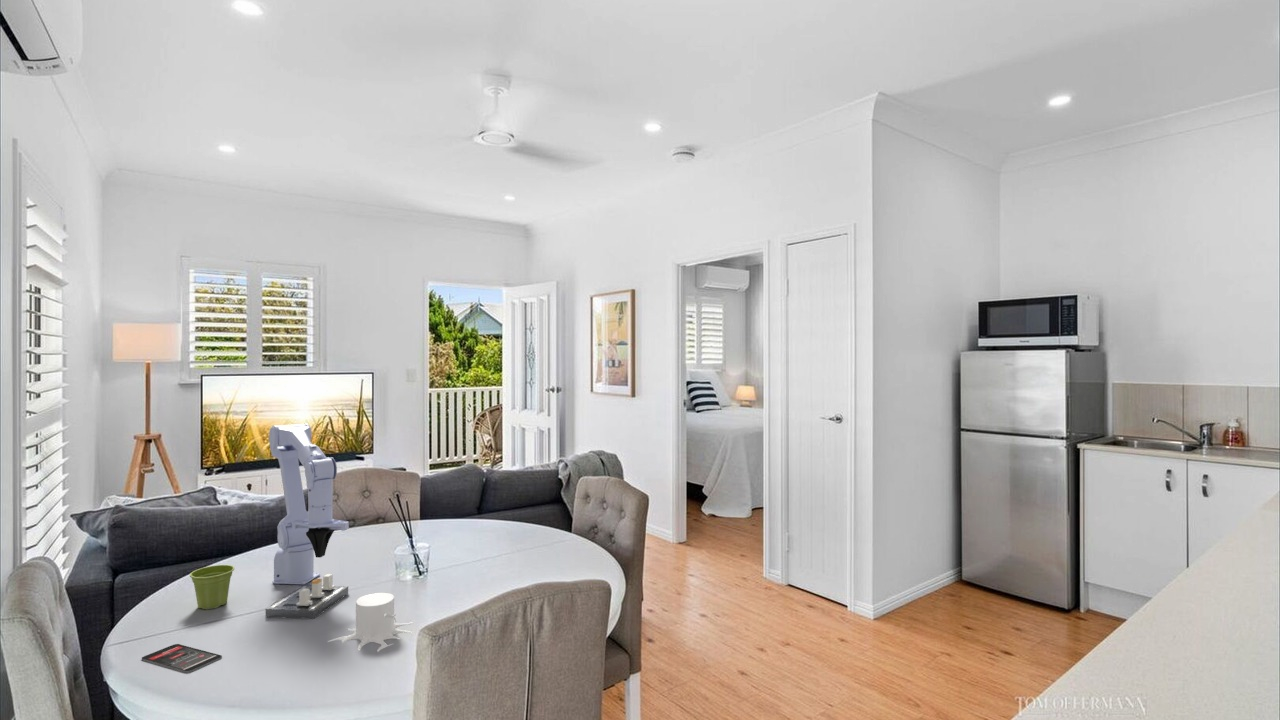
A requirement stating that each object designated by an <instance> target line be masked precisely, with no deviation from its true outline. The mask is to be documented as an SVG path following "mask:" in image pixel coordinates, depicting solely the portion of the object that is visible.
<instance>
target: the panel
mask: <svg viewBox="0 0 1280 720" xmlns="http://www.w3.org/2000/svg"><path fill="white" fill-rule="evenodd" d="M322 587H323V585H322ZM302 589H310V595H311V594H312V584H303V585H302V586H300V587H299V588H297V589H296V590H293V592H291V593H289V594H287V595H286V596H284V597H283V598H281V599H279V600H278V601H276V602H274V603H273V604H271V605H270V606H268V607H266V608H265V618H274V617H286V618H285V619H302V618H314V619H316V618H317V617H318V616H320V615H321V614H323V613H324V612H325V611H326V609H327V608H328V607H329V608H330V606H331V605H332V606H334V605H335V604H336V603H338V602H339V601H341V600H342V599H343V598H344V597H343V596H345V595H346V594H347V595H349V586H347V585H345V586H343V585H335V587H334V588H333V589H331V590H322V593H325V594H324V595H323V596H321V597H320V598H315V597H310V601H313V602H312V603H311V604H309V605H308V606H299V605H296V604H297V603H298V602H299V591H301V590H302ZM347 595H346V596H347ZM346 596H345V597H346ZM342 597H343V598H342ZM341 598H342V599H341ZM338 600H339V601H338ZM337 601H338V602H337ZM335 602H336V603H335ZM334 603H335V604H334ZM333 604H334V605H333ZM332 606H331V607H332ZM329 608H328V609H329ZM328 609H327V610H328ZM323 611H324V612H323ZM322 612H323V613H322ZM319 614H320V615H319ZM315 617H316V618H315Z"/></svg>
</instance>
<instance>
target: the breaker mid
mask: <svg viewBox="0 0 1280 720" xmlns="http://www.w3.org/2000/svg"><path fill="white" fill-rule="evenodd" d="M311 585H312V594H311V595H310V597H315V598H320V597H321V596H323V595H324V594H325V593H322V586H323V579H322V578H314V579H313V580H311Z"/></svg>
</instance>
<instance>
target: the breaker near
mask: <svg viewBox="0 0 1280 720" xmlns="http://www.w3.org/2000/svg"><path fill="white" fill-rule="evenodd" d="M312 602H313V601H310V589H302V590H301V591H299V602H298V603H297V604H296V605H299V606H308V605H309V604H311V603H312Z"/></svg>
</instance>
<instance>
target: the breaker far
mask: <svg viewBox="0 0 1280 720" xmlns="http://www.w3.org/2000/svg"><path fill="white" fill-rule="evenodd" d="M333 576H334V575H333V574H332V573H327V574H325V575H323V576H322V577H323V579H322V586H323V587H322V590H331V589H333V588H334V587H335V586H336V585H334V584H333V578H334V577H333Z"/></svg>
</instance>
